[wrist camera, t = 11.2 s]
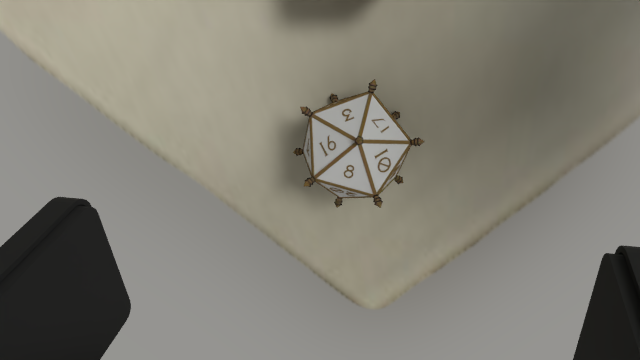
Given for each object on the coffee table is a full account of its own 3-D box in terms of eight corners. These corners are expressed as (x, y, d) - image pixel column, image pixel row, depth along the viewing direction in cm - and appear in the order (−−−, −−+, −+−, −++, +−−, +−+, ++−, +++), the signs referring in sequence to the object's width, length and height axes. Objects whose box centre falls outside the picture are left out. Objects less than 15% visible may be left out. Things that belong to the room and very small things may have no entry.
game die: (300, 49, 38) (271, 173, 43) (322, 88, 31) (285, 233, 35) (414, 72, 41) (377, 187, 45) (460, 113, 33) (410, 246, 38)
